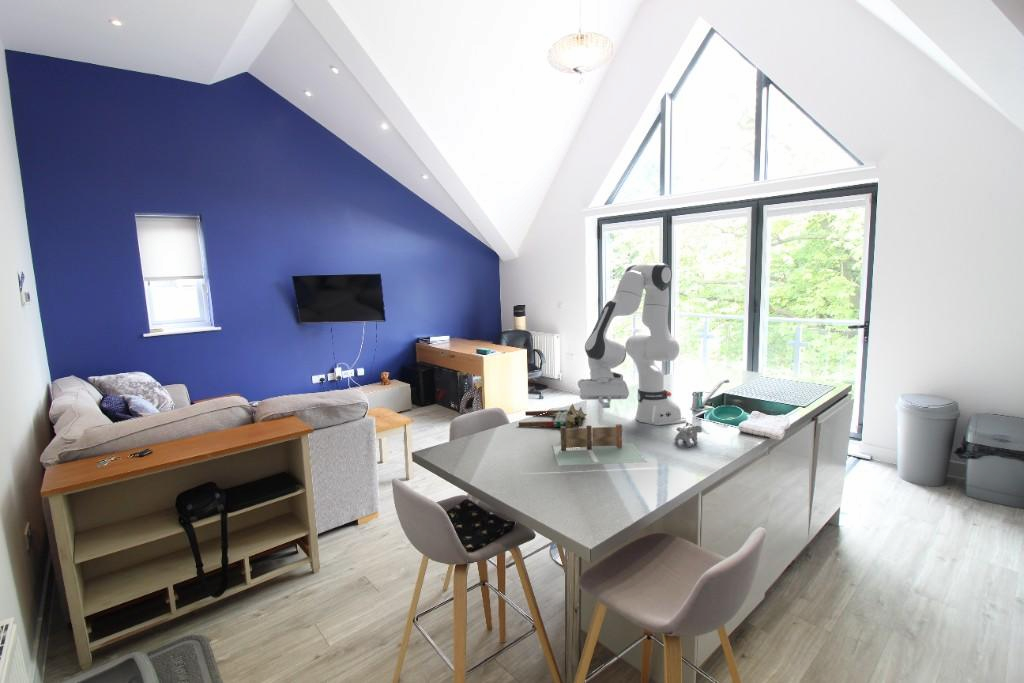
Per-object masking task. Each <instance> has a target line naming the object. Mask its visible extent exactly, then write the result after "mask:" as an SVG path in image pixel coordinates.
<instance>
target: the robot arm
mask: <svg viewBox="0 0 1024 683" xmlns="http://www.w3.org/2000/svg"><path fill="white" fill-rule="evenodd" d="M672 278H673V272H672V269H671V267H670V266H669V265H668V264H667V263H663V262H658V263H656V262H655V263H653V262H652V263H651V262H646V263H642V264H641V263H640V264H634V265H630V266H628V267H627V268H626V270H624V273H623V275H622V276H621V278H620V280H619V283H618V286H617V289H616V291H615V295H614V296H613V298H612V299H611V300H609V301H607V303H606V304H605V305H604V307H603V308H602V310H601V312H600V314H599V317H598V319H597V320H596V323H595V326H594V328H593V330H592V331H591V334H590V335H589V337H588V338H587V340H586V342H585V344H584V351H585V353H586V356H587V362H588V368H589V369H590V371H589V372H590V373H589V376H590V378H585V379H584V378H581V379H579V380H578V381H577V387H578V388H579V399H581V400H583V401H584V400H585V401H590V400H591V401H592V400H597V401H598V402H599V403H600V405H601V408H602V409H610V408H611V401H612V400H627V399H628V397H629V396H630V391H629V388H628V385H627V383H626V381H625V380H624V375H623V374H622V373H618V372H614V371H612V370H611V369H615V368H617V367H618V366H620V365H621V364H623V363H624V362H625V360H626V359H627V355H628V356H629V357H630V358H631V359H632V360H633V362H634V364H635V366H636V369H637V374H638V375H637V376H638V388H637V401H638V402H637V410H636V413H635V417H634V419H635V420H636V421H637V420H638V421H637V422H640V423H643V422H644V423H645V424H649V425H653V424H654V426H662V425H663V426H664V425H671V424H680V423H681V424H682V423H687V419H686V417H685V416H684V415H683V414H682V413H681V412H682V411H681V408H680V407H679V405H678V404H677V403H675V401H673V400H671V398H669V397H671V396H672V392H670V391H667V390H666V389H665V387H664V386H665V384H664V382H665V380H664V379H665V375H664V372H663V370H661V369H660V368H659V367H658V366H657V365H656V362H663V363H664V362H671V361H672V362H673V361H675V360H676V359H677V358H678V356H679V355H680V345H679V343H678V341H677V340H676V339H675V338H674V337H673V336H672V334H671V331H670V328H669V324H668V323H669V322H668V319H669V318H668V317H669V305H670V290H669V285H670V284H671V281H672ZM644 290H645V294H644V299H643V306H642V317H641V322H642V323H643V325H644V326H646V327H647V328H648V329H649V332H650V335H643V334H639V335H632V336H630V337H628V339H627V340H626V342H625V346H624V345H622V344H620V343H619V342H616V341H613V340H611V339H609V338H606V334H607V332H608V329H609V327H610V325H611V323H612V321H613V319H614V318H616V317H624V316H630V315H633V314H635V312H637V311H638V310H639V307H640V305H641V301H642V298H643V292H644ZM655 361H656V362H655ZM604 400H606V401H607V402H605V401H604Z"/></svg>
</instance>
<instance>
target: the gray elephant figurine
mask: <svg viewBox="0 0 1024 683" xmlns="http://www.w3.org/2000/svg"><path fill="white" fill-rule="evenodd" d="M676 431H677V432H678V433H677V434H676V436H675V437H674V442H675V443H676V444H677V443H678V442H679V440H681V441H682V442H685V443H686V446H687V447H688V448H691V447H692V442H693V444H694V446H696V445H698V444H699V442H698V433H699V434H700V433H702V432H703V428H702V427H701V425H697V424H694V423H690V422H687V421H686V422H685V426H683V427H677V428H676ZM690 439H691V440H692V442H691V440H690Z"/></svg>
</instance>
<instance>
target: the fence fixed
mask: <svg viewBox="0 0 1024 683" xmlns="http://www.w3.org/2000/svg"><path fill="white" fill-rule="evenodd" d="M592 428H593V427H592V425H586V426H585V427H578V428H577V427H573V428H572V427H571V429H567V428H566V426H563V427H561V426H560V446H561V451H566V448H571V447H587V450H592Z"/></svg>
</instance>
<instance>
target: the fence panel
mask: <svg viewBox="0 0 1024 683" xmlns="http://www.w3.org/2000/svg"><path fill="white" fill-rule="evenodd" d="M622 443H623V425H622V424H620V423H619V424H618V423H617V424H616V425H615V426H599V427H592V446H593V447H595V446H616V447H617V448H622Z"/></svg>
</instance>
